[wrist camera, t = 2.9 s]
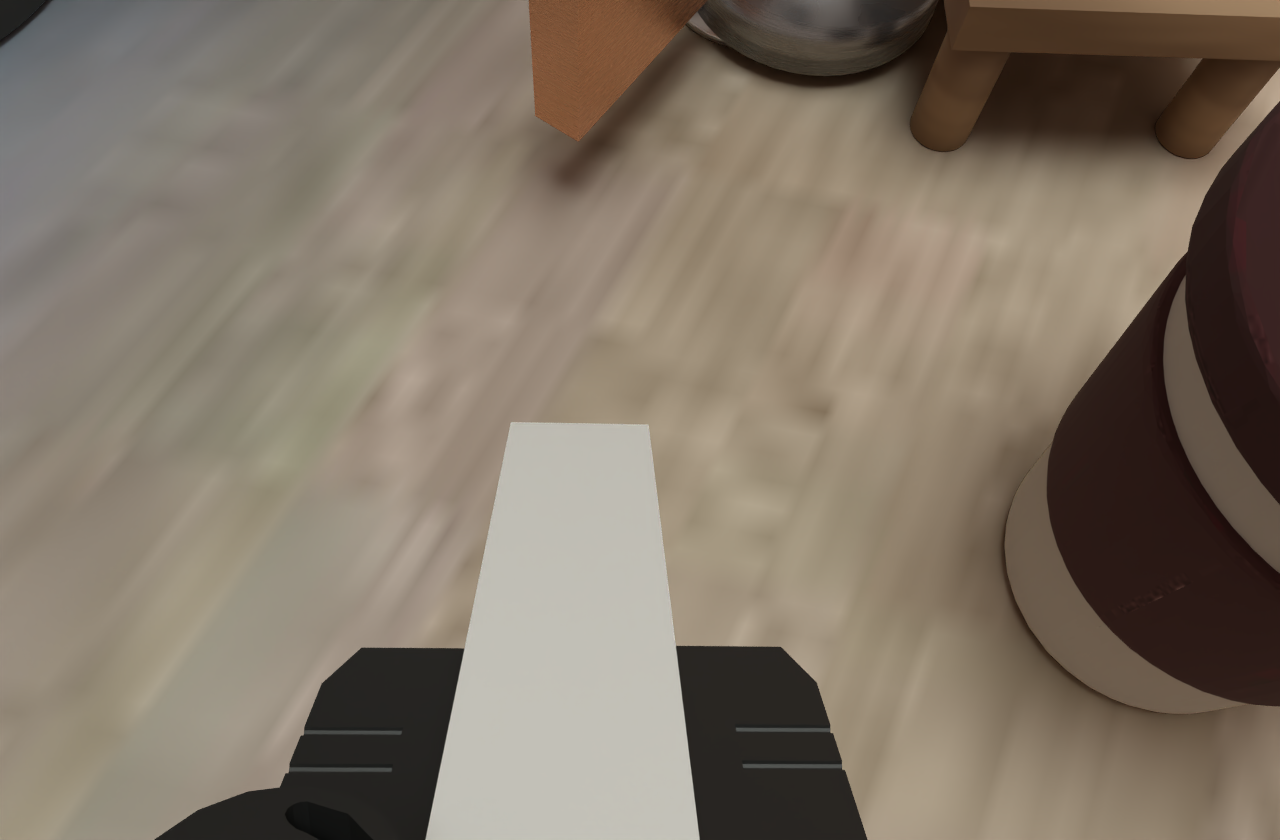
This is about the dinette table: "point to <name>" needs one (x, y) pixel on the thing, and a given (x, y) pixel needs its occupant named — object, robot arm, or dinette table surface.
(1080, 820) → the dinette table surface
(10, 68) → the dinette table surface
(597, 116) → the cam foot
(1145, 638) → the coffee cup
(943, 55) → the stand
